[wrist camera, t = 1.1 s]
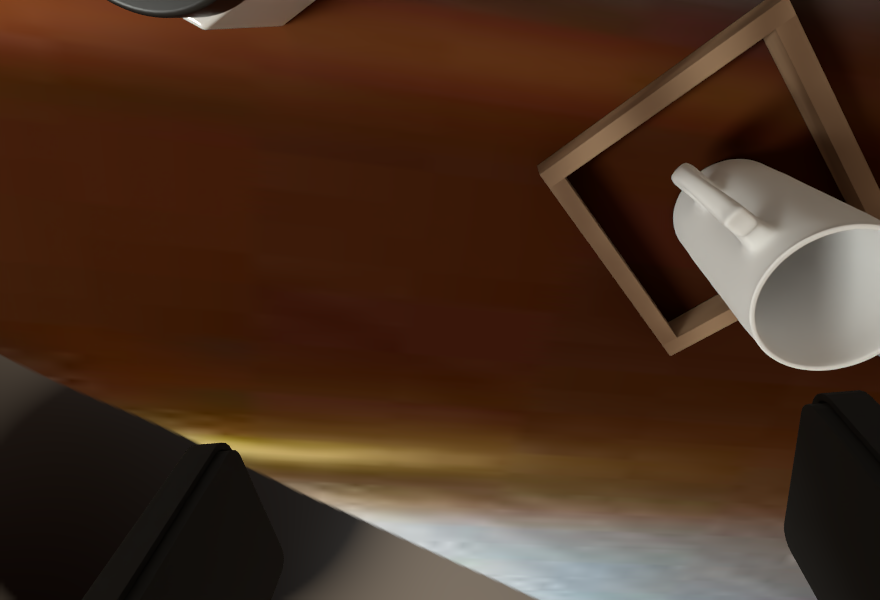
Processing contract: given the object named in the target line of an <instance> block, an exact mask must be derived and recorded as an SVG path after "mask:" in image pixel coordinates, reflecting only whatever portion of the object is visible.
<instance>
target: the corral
mask: <svg viewBox="0 0 880 600" xmlns="http://www.w3.org/2000/svg"><path fill="white" fill-rule="evenodd" d="M761 39H764V41H765V43H766V45H767V47H768V49H769V51H770V53H771V55H772V57H773V59H774V61H775V63H776V65H777V67H778V69H779V71H780V73H781V75H782V77H783V79H784V81H785V83H786V85H787V87H788V89H789V91H790V93H791V95H792V97H793V99H794V101H795V103H796V105H797V107H798V109H799V111H800V113H801V115H802V117H803V119H804V121H805V123H806V125H807V127H808V128H809V130H810V132H811V134H812V136H813V138H814V140H815V142H816V144H817V146H818V148H819V150H820V152H821V154H822V156H823V158H824V160H825V162H826V164H827V166H828V168H829V170H830V172H831V174H832V176H833V178H834V180H835V182H836V184H837V186H838V188H839V190H840V192H841V194H842V196H843V198H844V200H845V202H846V204H848V205H850V206H852V207H855V208H857V209H859V210H861V211H863V212H865V213H867V214H869V215H871V216H873V217H875V218H877V219H879V220H880V190H879V188H878V185H877V183H876V181H875V179H874V177H873V175H872V173H871V171H870V169H869V166H868V164H867V162H866V160H865V158H864V156H863V154H862V152H861V150H860V148H859V145H858V143H857V141H856V139H855V137H854V135H853V133H852V131H851V129H850V127H849V124H848V122H847V120H846V118H845V116H844V114H843V112H842V110H841V108H840V105H839V103H838V101H837V99H836V97H835V95H834V93H833V91H832V89H831V87H830V84H829V82H828V80H827V78H826V76H825V74H824V72H823V70H822V68H821V65H820V63H819V61H818V59H817V57H816V55H815V53H814V51H813V49H812V47H811V44H810V42H809V40H808V38H807V36H806V34H805V32H804V30H803V28H802V26H801V23H800V21H799V19H798V17H797V15H796V13H795V11H794V9H793V7H792V4H791V2H790V0H764V1H763V2H762V3H760V4H759V5H757V6H756V7H755V8H753V9H752V10H751V11H749V12H748V13H746V14H745V15H744V16H742V17H741V18H740V19H738V20H737V21H735V22H734V23H733V24H731V25H730V26H729V27H727V28H726V29H725V30H723V31H722V32H720V33H719V34H718V35H716V36H715V37H714V38H712V39H711V40H709V41H708V42H707V43H705V44H704V45H703V46H701V47H700V48H698V49H697V50H696V51H694V52H693V53H692V54H690V55H689V56H687V57H686V58H685V59H683V60H682V61H681V62H679V63H678V64H676V65H675V66H674V67H672V68H671V69H670V70H668V71H667V72H665V73H664V74H663V75H661V76H660V77H659V78H657V79H656V80H654V81H653V82H652V83H650V84H649V85H648V86H646V87H645V88H644V89H642V90H641V91H639V92H638V93H637V94H635V95H634V96H633V97H631V98H630V99H628V100H627V101H626V102H624V103H623V104H622V105H620V106H619V107H617V108H616V109H615V110H613V111H612V112H611V113H609V114H608V115H606V116H605V117H604V118H602V119H601V120H600V121H598V122H597V123H595V124H594V125H593V126H591V127H590V128H589V129H587V130H586V131H584V132H583V133H582V134H580V135H579V136H578V137H576V138H575V139H573V140H572V141H571V142H569V143H568V144H567V145H565V146H564V147H562V148H561V149H560V150H558V151H557V152H556V153H554V154H553V155H552V156H550V157H549V158H547V159H546V160H545V161H543V162H542V163H541V164H539V165H538V166H537V167H538V171H539V174H540V176H541V177H542V178H543V180H544V181H545V183H546V184H547V185H548V187H549V188H550V190H551V191H552V192H553V194H554V195H555V197H556V198H557V199H558V201H559V202H560V203H561V205H562V206H563V208H564V209H565V210H566V212H567V213H568V215H569V216H570V217H571V219H572V220H573V222H574V223H575V224H576V226H577V227H578V228H579V230H580V231H581V233H582V234H583V235H584V237H585V238H586V240H587V241H588V242H589V244H590V245H591V247H592V248H593V249H594V251H595V252H596V254H597V255H598V256H599V258H600V259H601V260H602V262H603V263H604V265H605V266H606V267H607V269H608V270H609V272H610V273H611V274H612V276H613V277H614V279H615V280H616V281H617V283H618V284H619V285H620V287H621V288H622V290H623V291H624V292H625V294H626V295H627V297H628V298H629V299H630V301H631V302H632V304H633V305H634V306H635V308H636V309H637V311H638V312H639V313H640V315H641V316H642V317H643V319H644V320H645V322H646V323H647V324H648V326H649V327H650V329H651V330H652V331H653V333H654V334H655V336H656V337H657V338H658V340H659V341H660V342H661V344H662V345H663V347H664V348H665V349H666V351H667V352H668V354H669V355H670V356H671V355H673V354H675V353H677V352H679V351H681V350H683V349H685V348H687V347H688V346H690V345H692V344H694V343H696V342H698V341H700V340H702V339H704V338H705V337H707V336H709V335H711V334H713V333H715V332H717V331H719V330H721V329H722V328H724V327H726V326H728V325H730V324H732V323H734V322H736V321H738V319H737V318H736V316H735V315H734V314H733V312H732V311H731V310H730V308H729V307H728V306H727V304H726V303H725V302H724V300H723V299H722V298H721V296H720V295H719V294H718V295H716V296H714V297H713V298H711V299H709V300H707V301H705V302H704V303H702V304H700V305H698V306H696V307H695V308H693V309H691V310H689V311H687V312H686V313H684V314H682V315H680V316H678V317H677V318H675V319H673V320H671V321H669V322H668V321H667V320H666V319H665V317H664V316H663V314H662V313H661V311H660V310H659V309H658V307H657V306H656V304H655V303H654V301H653V300H652V299H651V297H650V296H649V294H648V293H647V291H646V290H645V289H644V287H643V286H642V284H641V283H640V281H639V280H638V279H637V277H636V276H635V274H634V273H633V271H632V270H631V269H630V267H629V266H628V264H627V263H626V261H625V260H624V259H623V257H622V256H621V254H620V253H619V251H618V250H617V249H616V247H615V246H614V244H613V243H612V241H611V240H610V239H609V237H608V236H607V234H606V233H605V232H604V230H603V229H602V227H601V226H600V224H599V223H598V222H597V220H596V219H595V217H594V216H593V214H592V213H591V212H590V210H589V209H588V207H587V206H586V204H585V203H584V202H583V200H582V199H581V197H580V196H579V194H578V193H577V192H576V190H575V189H574V187H573V186H572V184H571V183H570V182H569V180H568V179H567V176H568V175H569V174H571V173H572V172H574V171H575V170H577V169H578V168H579V167H581V166H582V165H584V164H585V163H586V162H588V161H589V160H591V159H592V158H594V157H595V156H596V155H598V154H599V153H601V152H602V151H604V150H605V149H606V148H608V147H609V146H611V145H612V144H613V143H615V142H616V141H618V140H619V139H621V138H622V137H623V136H625V135H626V134H628V133H629V132H631V131H632V130H633V129H635V128H636V127H638V126H639V125H640V124H642V123H643V122H645V121H646V120H648V119H649V118H650V117H652V116H653V115H655V114H656V113H657V112H659V111H660V110H662V109H663V108H665V107H666V106H667V105H669V104H670V103H672V102H673V101H675V100H676V99H677V98H679V97H680V96H682V95H683V94H684V93H686V92H687V91H689V90H690V89H692V88H693V87H694V86H696V85H697V84H699V83H700V82H701V81H703V80H704V79H706V78H707V77H709V76H710V75H711V74H713V73H714V72H716V71H717V70H719V69H720V68H721V67H723V66H724V65H726V64H727V63H728V62H730V61H731V60H733V59H734V58H736V57H737V56H738V55H740V54H741V53H743V52H744V51H745V50H747V49H748V48H750V47H751V46H753V45H754V44H755V43H757V42H758V41H760V40H761Z"/></svg>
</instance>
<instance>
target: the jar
mask: <svg viewBox="0 0 880 600" xmlns="http://www.w3.org/2000/svg"><path fill="white" fill-rule="evenodd" d="M108 1H109V2H111V3H113V4H115V5H117V6H119V7H121V8H124V9H126V10H129V11H131V12H134V13H138V14H141V15H146V16H151V17H159V18H183V19H185V20H187V21H188V22H190V23H192V24H194V25H196V26H197V27H199V28H201V29H203V30H213V29H233V28H254V27H275V26H283V25H284V24H286V23H287V22H288V21H289V20H291V19H292V18H293V17H295V16H296V15H297V14H298V13H300V12H301V11H302V10H304V9H305V8H306V7H307V6H309V5H310V4H311V3H313V2H314V1H315V0H108Z"/></svg>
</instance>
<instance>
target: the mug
mask: <svg viewBox="0 0 880 600" xmlns="http://www.w3.org/2000/svg"><path fill="white" fill-rule="evenodd" d="M671 179H672V181H673V182H674V183H675V185H677V186H678V187H679V188H680V189H681V190H682V191H681V193H680V195H679V197H678V199H677V201H676V204H675V208H674V214H673V223H674V229H675V232H676V235H677V237H678V239H679V241H680V242H681V243H682V245H683V246H684V247H685V249H686V250H687V252H688V253H689V254H690V256H691V258H692V259H693V261H694V262H695V263H696V264H697V266H698V267H699V268H700V270H701V271H702V272H703V274H704V275H705V276H706V278H707V279H708V280H709V282H710V283H711V284H712V286H713V287H714V288H715V290H716V291H717V292H718V294H719V295H720V296H721V298H722V299H723V300H724V302H725V303H726V304H727V306H728V307H729V308H730V310H731V311H732V312H733V314H734V315H735V316H736V318H737V319H738V320H739V322H740V323H741V324H742V325H743V327H744V328H745V329H746V330H747V331H748V333H749V334H750V335H751V336H752V337H753V338H754V340H755V341H756V342H757V344H758V345H759V347H760V348H761V349H762V350H763V351H764V352H765V353H766V354H767V355H769V356H770V357H771V358H773V359H774V360H776V361H778V362H780V363H782V364H784V365H787V366H790V367H793V368H797V369H803V370H814V371H820V370H833V369H839V368H844V367H848V366H851V365H855V364H858V363H861V362H863V361H866V360H868V359H870V358H872V357H874V356H876V355H878V354H880V220H879V219H877V218H875V217H873V216H871V215H869V214H867V213H865V212H863V211H861V210H859V209H857V208H855V207H852V206H850V205H848V204H846V203H844V202H842V201H840V200H838V199H836V198H834V197H831V196H829V195H827V194H825V193H823V192H821V191H819V190H817V189H815V188H813V187H811V186H809V185H807V184H804V183H802V182H800V181H798V180H796V179H794V178H792V177H790V176H788V175H786V174H784V173H782V172H779V171H777V170H774V169H772V168H770V167H768V166H766V165H764V164H762V163H759V162H756V161H753V160H748V159H731V160H725V161H721V162H718V163H716V164H713V165H711V166H709V167H707V168H705V169H704V170H702V171H701V172H700V171H699V170H698V169H697V168H695V167H694V166H692V165H690V164H688V163H684V164H682V165H681V166H680V167H678V169H677V170H676V171H675V172H674V173H673V174H672V178H671Z"/></svg>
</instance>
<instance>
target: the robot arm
mask: <svg viewBox="0 0 880 600" xmlns="http://www.w3.org/2000/svg"><path fill="white" fill-rule="evenodd" d="M784 532H785V537H786V541H787V544H788V547H789V549H790V551H791V553H792V554H793V556H794V558H795V560H796V562H797V563H798V565H799V567H800V569H801V571H802V572H803V574H804V576H805V578H806V580H807V581H808V583H809V585H810V587H811V589H812V590H813V592H814V594H815V596H816V598H817V599H818V600H880V405H879V404H878V403H877V402H876V401H875V400H874V399H873V398H872V397H871V396H870V395H868V394H867V393H866V392H864V391H860V390H858V391H845V392H833V393H821V394H817V395H816V396H815V398H814V399H813V403H812V404H807V405H805V406H804V407H803V408H802V412H801V418H800V425H799V431H798V438H797V444H796V451H795V457H794V464H793V470H792V477H791V483H790V490H789V496H788V503H787V509H786V516H785V522H784ZM283 562H284V556H283V550H282V548H281V545H280V543H279V541H278V539H277V536H276V534H275V532H274V530H273V527H272V525H271V523H270V521H269V519H268V516H267V514H266V512H265V510H264V508H263V505H262V503H261V501H260V498H259V496H258V494H257V492H256V490H255V487H254V485H253V483H252V481H251V478H250V476H249V474H248V472H247V469H246V467H245V465H244V463H243V460H242V458H241V456H240V454H239V453H238V452H237V451H236V450H232V449H231V448H230V446H229V445H228V444H226V443H213V444H201V445H194V446H191V447H190V448H189V449H188V450H187V451H186V452H185V454H184V455H183V456H182V458H181V459H180V461H179V462H178V464H177V465H176V466H175V468H174V469H173V471H172V472H171V474H170V475H169V476H168V478H167V479H166V481H165V482H164V484H163V485H162V486H161V488H160V489H159V491H158V492H157V494H156V495H155V497H154V498H153V499H152V501H151V502H150V504H149V505H148V506H147V508H146V509H145V511H144V512H143V514H142V515H141V516H140V518H139V519H138V521H137V522H136V523H135V525H134V526H133V528H132V529H131V531H130V532H129V534H128V535H127V536H126V538H125V539H124V541H123V542H122V543H121V545H120V546H119V548H118V549H117V551H116V552H115V554H114V555H113V556H112V558H111V559H110V561H109V562H108V563H107V565H106V566H105V568H104V569H103V571H102V572H101V574H100V575H99V576H98V578H97V579H96V581H95V582H94V584H93V585H92V586H91V588H90V589H89V591H88V592H87V593H86V595H85V596H84V598H83V599H82V600H271V598H272V596H273V593H274V591H275V588H276V585H277V583H278V580H279V578H280V575H281V572H282V569H283Z"/></svg>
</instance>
